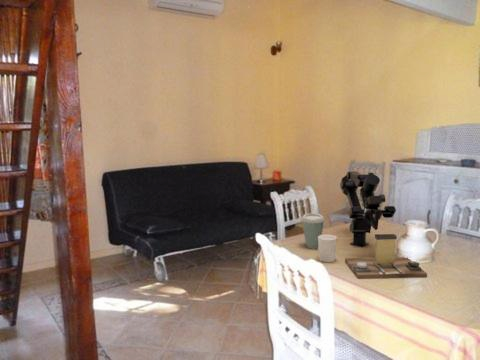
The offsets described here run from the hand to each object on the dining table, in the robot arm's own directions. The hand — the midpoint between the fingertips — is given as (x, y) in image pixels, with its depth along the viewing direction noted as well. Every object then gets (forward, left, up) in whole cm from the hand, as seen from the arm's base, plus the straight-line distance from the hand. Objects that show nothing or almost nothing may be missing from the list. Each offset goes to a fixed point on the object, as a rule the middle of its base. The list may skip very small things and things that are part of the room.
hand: (376, 229), depth 166 cm
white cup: (+12, -16, -14) cm, 24 cm away
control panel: (+7, +7, -14) cm, 17 cm away
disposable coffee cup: (+1, -31, -14) cm, 34 cm away
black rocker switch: (+2, +17, -11) cm, 20 cm away
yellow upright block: (+7, +8, -12) cm, 16 cm away
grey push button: (+17, +3, -11) cm, 20 cm away
